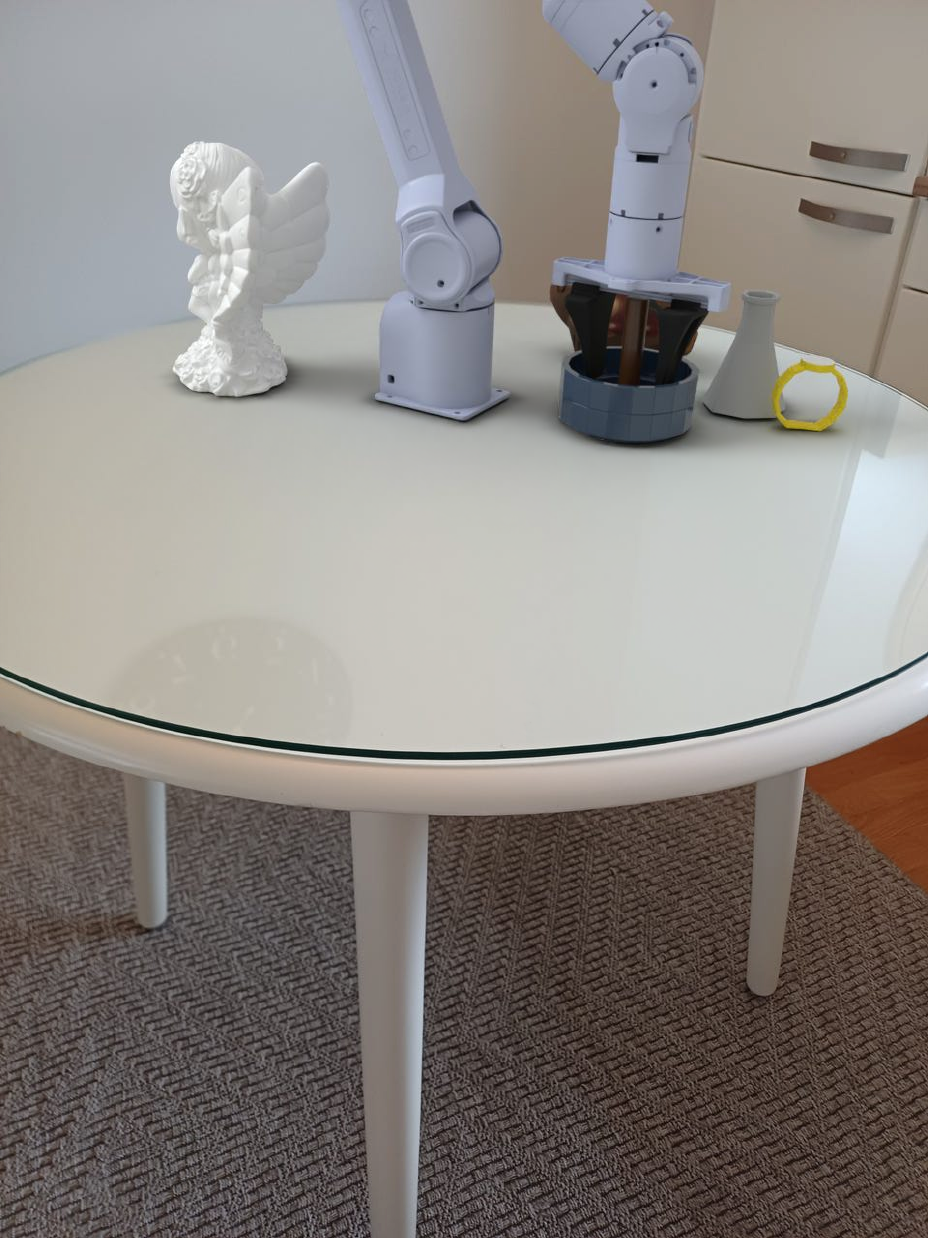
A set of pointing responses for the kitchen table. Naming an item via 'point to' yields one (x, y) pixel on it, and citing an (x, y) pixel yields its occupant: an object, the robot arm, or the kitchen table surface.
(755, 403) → the flask
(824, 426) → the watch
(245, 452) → the kitchen table surface
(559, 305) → the decorative turtle
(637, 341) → the brown wooden pestle
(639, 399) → the bowl
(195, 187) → the cherub figurine
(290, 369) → the kitchen table surface
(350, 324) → the kitchen table surface
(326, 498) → the kitchen table surface
